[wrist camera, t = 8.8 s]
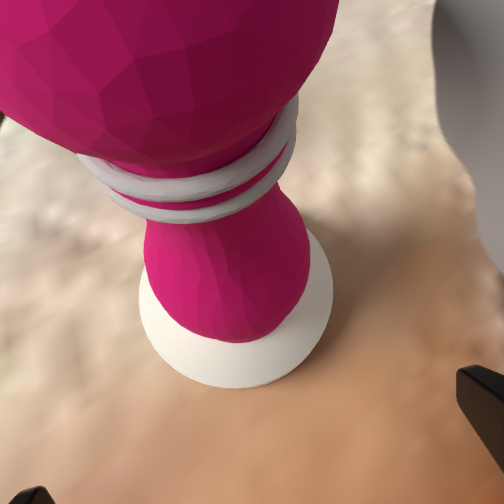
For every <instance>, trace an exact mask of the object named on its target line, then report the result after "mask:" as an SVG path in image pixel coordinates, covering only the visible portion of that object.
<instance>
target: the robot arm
mask: <svg viewBox="0 0 504 504" xmlns="http://www.w3.org/2000/svg"><path fill="white" fill-rule="evenodd" d="M456 398H457V402H458V405H459V407H460V409H461V410H462V412H463V413H464V415H465V416H466V418H467V419H468V421H469V422H470V424H471V425H472V427H473V428H474V430H475V431H476V433H477V434H478V436H479V437H480V439H481V440H482V442H483V443H484V445H485V446H486V448H487V449H488V451H489V452H490V454H491V455H492V457H493V458H494V460H495V461H496V463H497V464H498V466H499V467H500V469H501V470H502V471H503V473H504V375H502V374H499V373H497V372H495V371H492V370H490V369H487V368H485V367H482V366H480V365H470V366H467V367H463V368H460V369H458V371H457V372H456ZM9 504H55V502H54V500H53V499H52V497H51V496H50V494H49V493H48V491H47V489H46V488H45V487H43V486H36V487H33V488H29V489H25V490H23V491H21V492H19V493H18V494H17V495H16V496H15V497H14V498H13V499H12V500H11V501H10V502H9Z"/></svg>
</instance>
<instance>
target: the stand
mask: <svg viewBox="0 0 504 504" xmlns="http://www.w3.org/2000/svg"><path fill="white" fill-rule="evenodd" d="M305 227H306V226H305ZM306 230H307V234H308V238H309V241H310V271H309V278H308V282H307V285H306V288H305V291H304V293H303V295H302V296H301V298H300V300H299V302H298V303H297V305H296V306H295V307H294V309H293V310H292V311H291V313H289V314H288V315H287V316H286V317H285V319H284V320H283V321H282V323H281V324H280V325H279V326H278V327H277V328H276V329H275V330H273V331H272V332H271V333H269V334H268V335H266V336H264V337H262V338H260V339H258V340H254V341H251V342H247V343H228V342H223V341H219V340H216V339H210V338H206V337H203V336H200V335H197V334H195V333H192V332H190V331H189V330H187V329H185V328H184V327H182V326H180V325H179V324H178V323H177V322H176V321H175V320H173V319H172V318H171V317H170V316H169V314H168V313H167V312H166V311H165V309H164V308H163V307H162V305H161V304H160V302H159V301H158V299H157V298H156V296H155V295H154V293H153V291H152V288H151V286H150V284H149V280H148V276H147V272H146V267H145V266H144V269H143V273H142V276H141V281H140V288H139V307H140V315H141V319H142V323H143V326H144V329H145V331H146V334H147V336H148V338H149V340H150V341H151V343H152V345H153V347H154V348H155V349H156V351H157V352H158V353H159V354H160V356H161V357H162V358H163V359H164V360H165V361H166V362H167V363H168V364H169V365H170V366H171V367H173V368H174V369H175V370H177V371H178V372H180V373H181V374H183V375H185V376H187V377H189V378H191V379H193V380H195V381H197V382H200V383H204V384H207V385H210V386H213V387H217V388H223V389H238V390H241V389H250V388H256V387H259V386H263V385H267V384H269V383H271V382H274V381H276V380H278V379H280V378H282V377H284V376H285V375H287V374H289V373H290V372H291V371H293V370H294V369H295V368H296V367H298V366H299V365H300V364H301V363H302V362H303V361H304V360H305V359H306V358H307V356H308V355H309V354H310V352H311V351H312V350H313V348H314V347H315V345H316V344H317V343H318V341H319V340H320V338H321V336H322V334H323V332H324V330H325V328H326V325H327V323H328V320H329V317H330V313H331V308H332V304H333V278H332V274H331V269H330V265H329V262H328V260H327V257H326V254H325V253H324V251H323V249H322V247H321V245H320V243H319V242H318V241H317V239H316V238H315V236H314V235H313V234H312V233H311V232H310V231H309V230H308V228H307V227H306Z"/></svg>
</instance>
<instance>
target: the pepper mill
mask: <svg viewBox="0 0 504 504" xmlns="http://www.w3.org/2000/svg"><path fill="white" fill-rule="evenodd" d="M338 4H339V0H0V110H1V111H2V112H3V113H4V114H5V115H6V116H8V117H9V118H11V119H13V120H14V121H16V122H18V123H19V124H21V125H22V126H24V127H26V128H27V129H29V130H31V131H32V132H34V133H35V134H37V135H39V136H41V137H43V138H45V139H47V140H49V141H51V142H53V143H56V144H58V145H60V146H62V147H64V148H66V149H68V150H70V151H72V152H74V153H76V155H77V156H78V158H79V160H80V161H81V163H82V164H83V165H84V167H85V168H86V169H87V170H88V171H89V172H90V173H91V174H92V175H93V176H94V177H95V179H96V180H97V182H98V184H99V186H100V187H101V188H102V189H103V191H104V192H105V193H106V194H107V195H108V196H109V197H110V198H111V199H112V201H114V202H115V203H116V204H118V205H119V206H120V207H122V208H124V209H126V210H127V211H129V212H131V213H133V214H135V215H138V216H140V217H143V218H146V221H147V227H146V234H145V241H144V262H145V267H146V272H147V276H148V280H149V284H150V286H151V288H152V291H153V293H154V295H155V296H156V298H157V299H158V301H159V302H160V304H161V305H162V307H163V308H164V309H165V311H166V312H167V313H168V314H169V316H170V317H171V318H172V319H173V320H175V321H176V322H177V323H178V324H179V325H180V326H182V327H184V328H185V329H187V330H189V331H190V332H192V333H195V334H197V335H200V336H203V337H206V338H210V339H216V340H219V341H223V342H228V343H247V342H251V341H254V340H258V339H260V338H262V337H264V336H266V335H268V334H269V333H271V332H272V331H273V330H275V329H276V328H277V327H278V326H279V325H280V324H281V323H282V321H283V320H284V319H285V317H286V316H287V315H288V314H289V313H291V311H292V310H293V309H294V307H295V306H296V305H297V303H298V302H299V300H300V298H301V296H302V295H303V293H304V291H305V288H306V285H307V282H308V278H309V271H310V241H309V238H308V234H307V230H306V227H305V224H304V222H303V220H302V218H301V216H300V214H299V212H298V210H297V208H296V207H295V206H294V204H293V203H292V202H291V200H290V199H289V198H288V197H287V196H286V195H285V194H284V193H283V192H282V191H281V190H280V187H279V185H278V182H277V181H278V180H279V178H280V177H281V176H282V174H283V173H284V171H285V169H286V167H287V165H288V163H289V161H290V159H291V156H292V153H293V150H294V146H295V141H296V119H297V115H298V103H299V100H298V91H299V90H300V88H301V87H302V85H303V84H304V82H305V81H306V79H307V78H308V76H309V75H310V73H311V72H312V70H313V69H314V67H315V66H316V64H317V63H318V61H319V59H320V57H321V55H322V53H323V51H324V49H325V47H326V45H327V42H328V40H329V38H330V36H331V34H332V32H333V27H334V23H335V18H336V13H337V9H338Z"/></svg>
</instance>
